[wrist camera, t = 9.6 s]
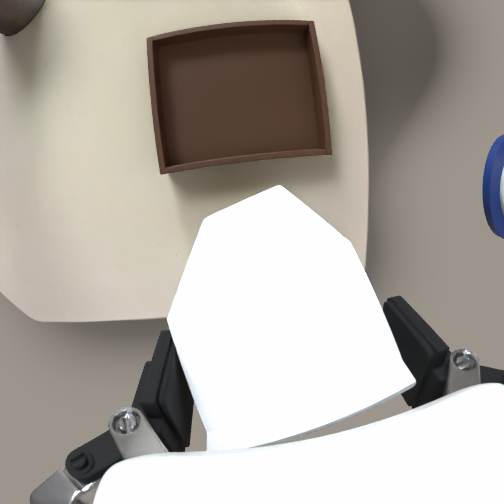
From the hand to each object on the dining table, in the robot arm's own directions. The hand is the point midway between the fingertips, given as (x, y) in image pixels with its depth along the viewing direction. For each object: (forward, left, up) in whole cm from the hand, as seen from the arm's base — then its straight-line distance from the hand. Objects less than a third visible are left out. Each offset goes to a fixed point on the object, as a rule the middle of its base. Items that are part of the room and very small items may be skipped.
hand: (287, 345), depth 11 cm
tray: (0, -14, -22) cm, 26 cm away
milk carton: (0, 0, -15) cm, 15 cm away
